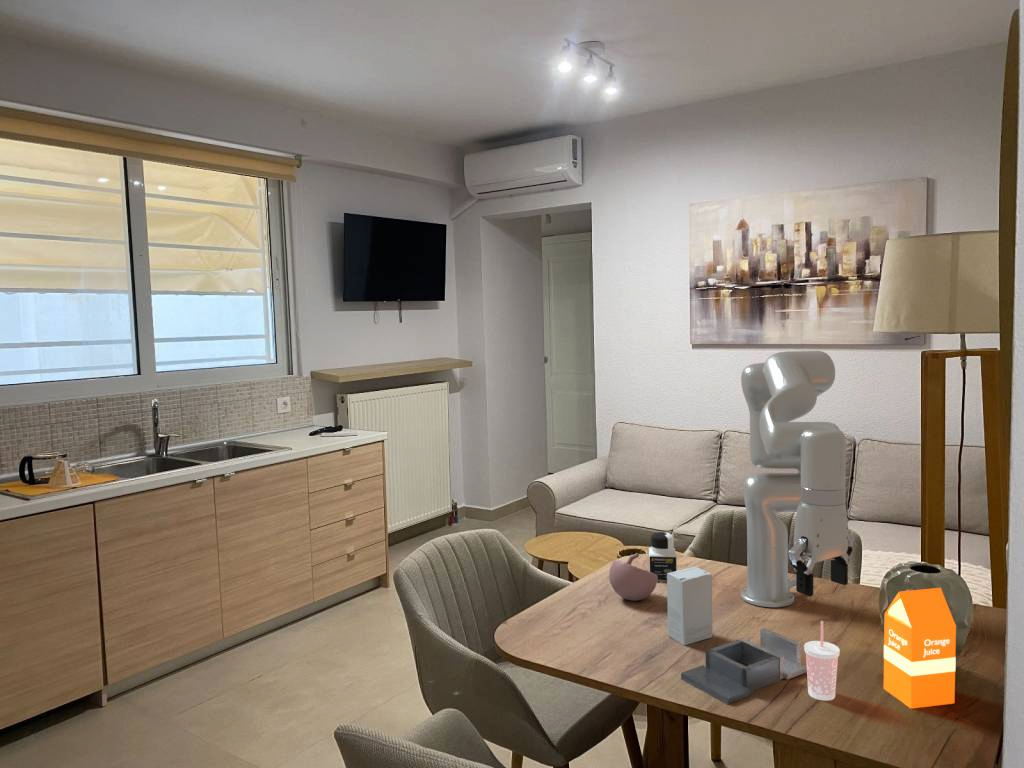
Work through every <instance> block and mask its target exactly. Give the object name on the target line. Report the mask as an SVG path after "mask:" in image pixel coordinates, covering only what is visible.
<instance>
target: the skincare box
mask: <svg viewBox="0 0 1024 768" xmlns="http://www.w3.org/2000/svg"><path fill="white" fill-rule="evenodd" d="M666 583H667V586H666V588H667V589H666V590H667V593H666V594H667V595H666V596H667V599H666V600H667V635H668V637H669V638H671V639H673V640H675V641H676V642H677V643H679V644H681V645H682V646H687V645H691V644H694V643H697V642H700V641H703V640H708V639H711V638H713V574H712V573H710V572H708V571H706V570H704V569H702V568H700V567H698V566H696V565H695V566H691V567H687V568H684V569H679V570H677V571H675V572H671V573H667V581H666Z"/></svg>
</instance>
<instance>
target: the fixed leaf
mask: <svg viewBox="0 0 1024 768" xmlns="http://www.w3.org/2000/svg"><path fill="white" fill-rule="evenodd" d="M680 677H681V680H682V681H685V682H686V683H688V684H689V685H692V686H693V687H695V688H696V689H699V690H701V691H702V692H704V693H706V694H708V695H710V697H711V696H712V697H714V699H717V700H719V701H721V702H722V703H724V704H726V705H730V704H732V703H735V702H738V701H740V700H743V699H745V698H748V697H750V696H751V693H753V692H756V691H758V690H760V689H762V688H765V687H767V686H771V685H772V684H773V685H774V684H776V683H778V682H779V681H780V680H779V658H776V657H774V656H773V657H771V658H768V659H765V660H763V661H760V662H757V663H754V664H752V665H747V666H746V665H743V662H742V642H741V641H739V640H738V639H736V640H733V641H730V642H727V643H724V644H721V645H718V646H716V647H713V648H709V649H707V650H705V665H703V664H701V665H699V666H696V667H695V668H692V669H688V670H685V671H683V672H681V674H680Z"/></svg>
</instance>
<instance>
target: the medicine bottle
mask: <svg viewBox="0 0 1024 768" xmlns="http://www.w3.org/2000/svg"><path fill="white" fill-rule="evenodd" d="M674 541H675V540H674V535H673V534H671V533H670V532H664V531H661V532H660V531H659V532H654V533H652V534H651V536H650V547H649V548H648V559H649V560H648V571H650V572H652V573H654V574H656V575H657V576H658V580H657V582H667V573H671V572H675V571H678V570H677V568H678V567H677V566H678V565H677V564H678V563H677V551H676V548H675V546H674V543H675V542H674Z"/></svg>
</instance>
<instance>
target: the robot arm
mask: <svg viewBox="0 0 1024 768" xmlns="http://www.w3.org/2000/svg"><path fill="white" fill-rule="evenodd" d="M740 377H741V378H740V383H741V388H742V389H741V390H742V393H743V396H744V398H745V401H746V405H747V408H748V412H749V457H750V461H751V462H752V463H751V464H753V466H754V467H757V468H760V469H771V470H772V469H778V470H779V469H780V470H781V469H783V470H784V469H785V470H786V469H787V470H789V469H790V470H791V469H793V470H797V472H759V473H758V472H757V473H754V474H751V475H749V476H747V477H746V479H745V480H744V482H743V486H742V492H743V499H744V505H745V512H746V535H747V536H746V537H747V539H746V543H747V544H746V547H747V548H746V551H747V554H746V555H747V559H746V560H747V561H746V563H747V567H746V570H747V573H746V575H747V576H746V577H747V578H746V579H747V581H746V583H747V585H746V586H747V587H744V588H743V589H741V591H740V597H741V599H742V600H744V602H746V603H748V604H751V605H754V606H759V607H763V608H783V607H788V606H790V605H792V604H794V603H795V595H794V593H792V592H791V589H792V587H793V588H794V587H795V588H796V589H795V590H796V592H797V593H799V594H802V595H804V596H808V597H812V596H813V595H814V574H813V573H812V571H813V570H814V567H815V565H816V563H820V562H824V561H827V560H830V559H831V560H830V581H831V582H832V583H837V584H839V585H842V586H846V585H848V582H849V581H848V578H849V573H848V572H849V570H848V569H849V563H850V562H851V558H850V556H851V555H852V552H853V547H854V542H855V539H856V537H855V535H852V534H851V533H850V532H849V525H848V512H847V506H846V459H847V458H846V457H847V456H846V454H847V453H846V452H847V449H846V447H847V446H846V441H847V440H846V435H845V433H844V432H843V431H842V430H841V429H840V428H839V426H838V425H837V424H835V423H833V422H829V421H794V420H797V419H799V418H802V417H804V416H806V415H807V414H809V413H810V412H811V411H812V410H813V409H814V407H815V406H816V403H817V400H818V397H819V396H821V395H822V394H824V393H825V392H827V391H828V390H830V389H831V387H832V386H833V384H834V382H835V379H836V368H835V363H834V361H833V359H832V357H831V356H830V355H829V354H828V353H826V352H824V351H820V350H805V351H804V350H801V351H800V350H799V351H798V350H796V351H795V350H794V351H792V350H791V351H780V352H776V353H773V354H772V355H770V356H769V357H767V359H766V360H765V362H758V363H753V364H749V365H746V366H745V367H744V368H742V371H741V376H740ZM778 513H796V514H795V521H794V522H795V523H794V529H793V530H794V532H793V546H792V547H790V549H788V548H789V544H788V543H789V542H788V541H789V539H788V538H789V533H788V528H787V526H786V524H785V523H784V522H783V521H782V519H780V518H779V516H778V515H777V514H778ZM788 557H789V558H788ZM789 560H790V565H791V566H792V567H793V571H795V575H796V576H795V577H793V578H789V579H788V576H789V575H788V574H789V573H788V571H789V570H788V569H789V567H788V566H789V563H788V562H789ZM805 561H806V562H807V564H805Z"/></svg>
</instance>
